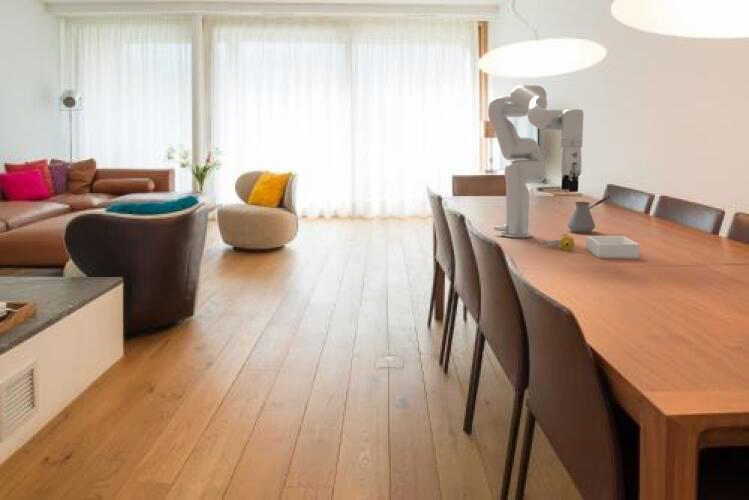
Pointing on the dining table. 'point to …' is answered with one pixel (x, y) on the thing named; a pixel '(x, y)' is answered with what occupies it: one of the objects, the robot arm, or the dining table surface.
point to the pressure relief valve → (561, 242)
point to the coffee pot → (583, 217)
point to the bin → (612, 247)
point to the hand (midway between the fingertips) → (569, 190)
